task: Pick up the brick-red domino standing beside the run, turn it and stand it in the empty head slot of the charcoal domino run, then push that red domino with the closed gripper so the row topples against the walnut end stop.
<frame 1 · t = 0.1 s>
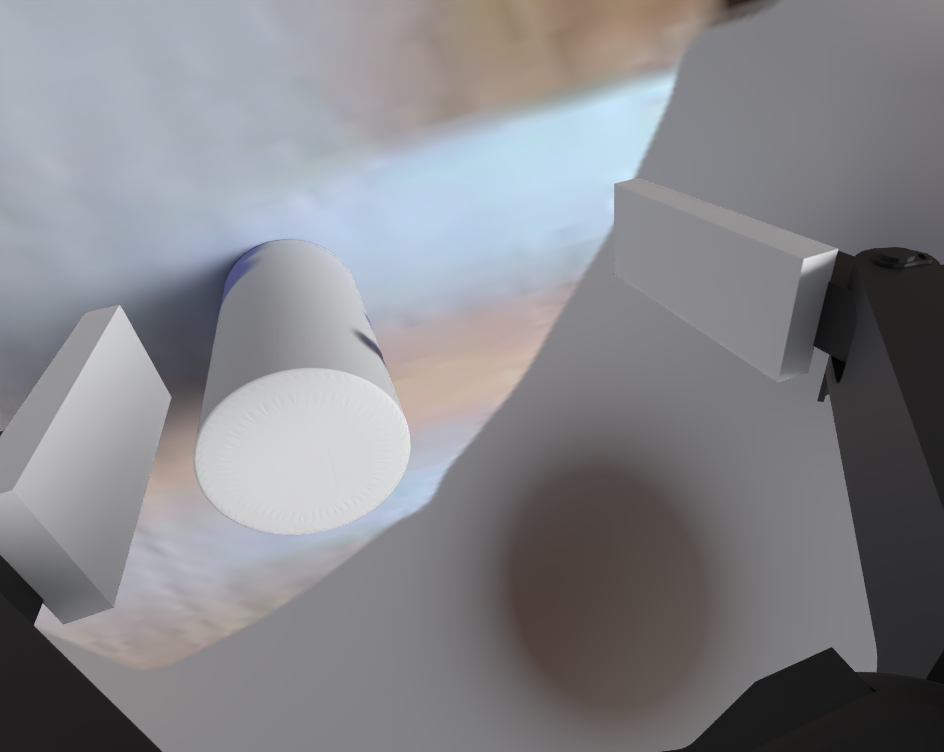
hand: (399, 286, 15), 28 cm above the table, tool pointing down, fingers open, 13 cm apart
container: (293, 301, 43), on the table
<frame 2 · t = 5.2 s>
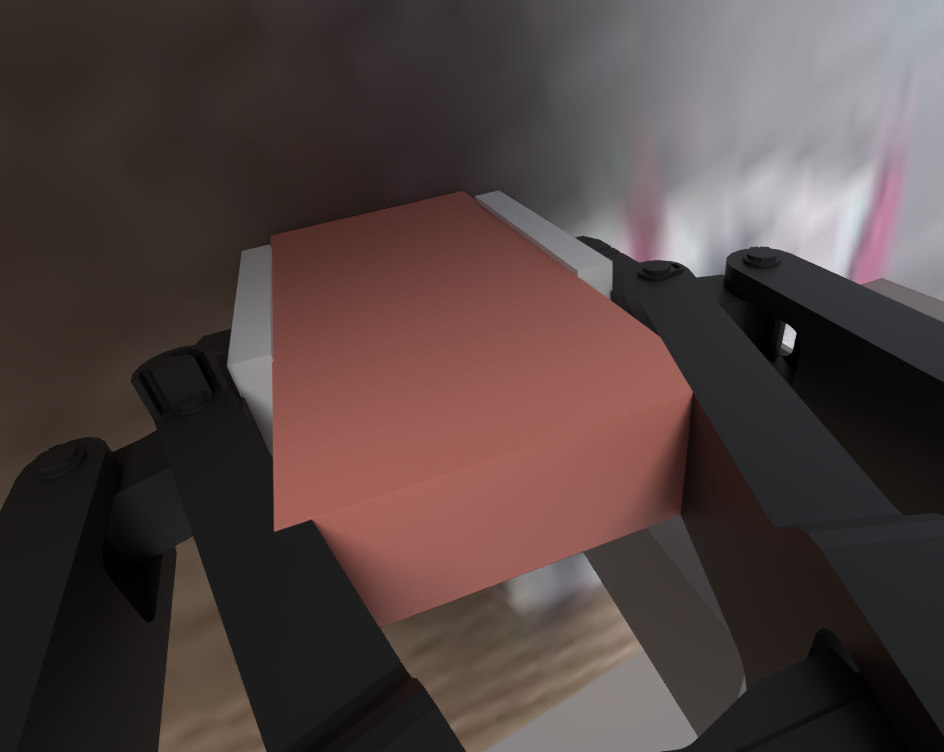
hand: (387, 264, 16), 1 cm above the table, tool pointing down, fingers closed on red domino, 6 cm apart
red domino: (379, 249, 17), on the table, touching gripper
domino 4: (845, 341, 27), on the table
domino 2: (565, 433, 24), on the table
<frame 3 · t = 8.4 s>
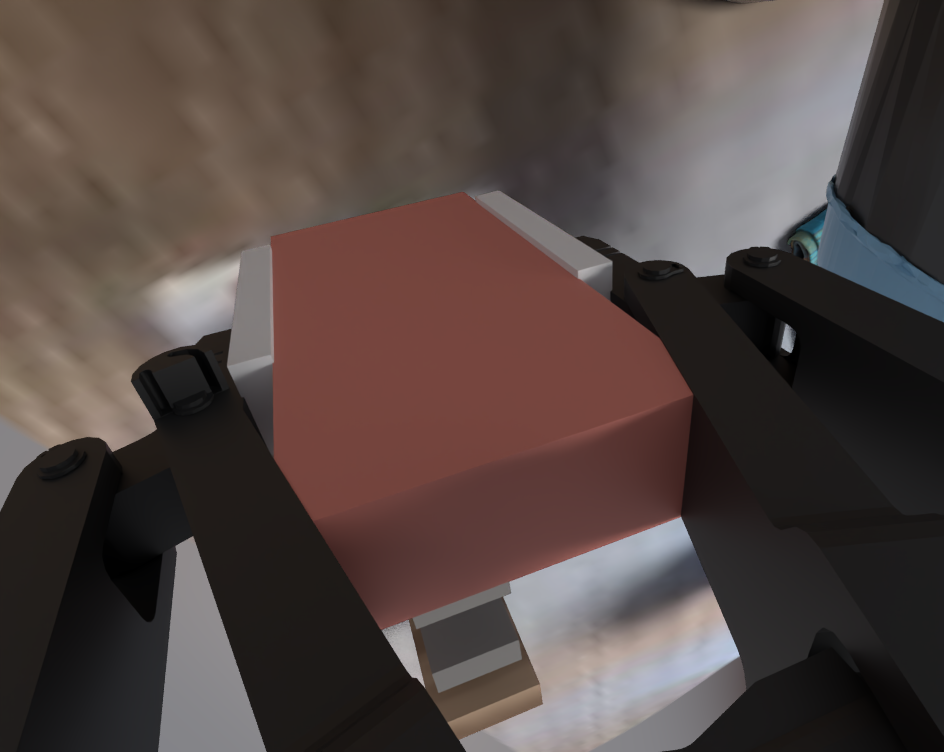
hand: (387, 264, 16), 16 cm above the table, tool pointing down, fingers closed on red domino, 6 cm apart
end stop: (447, 583, 50), on the table
red domino: (379, 250, 17), point 15 cm above the table, touching gripper
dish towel: (903, 240, 47), on the table
domino 5: (434, 534, 46), on the table
domino 4: (416, 469, 42), on the table
when the fingers open (2 cm above the table, at t = 11.8 s): red domino stays where it is, on the table.
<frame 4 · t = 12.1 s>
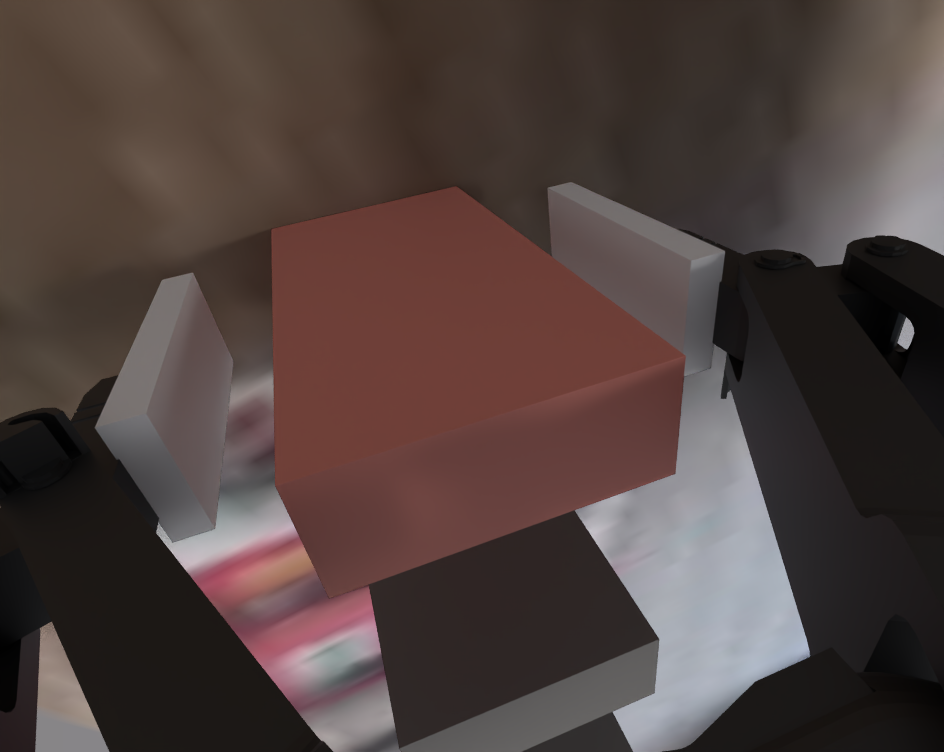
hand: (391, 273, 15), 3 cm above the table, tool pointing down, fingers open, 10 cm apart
red domino: (375, 243, 18), on the table
domino 3: (449, 541, 26), on the table
domino 2: (419, 419, 22), on the table
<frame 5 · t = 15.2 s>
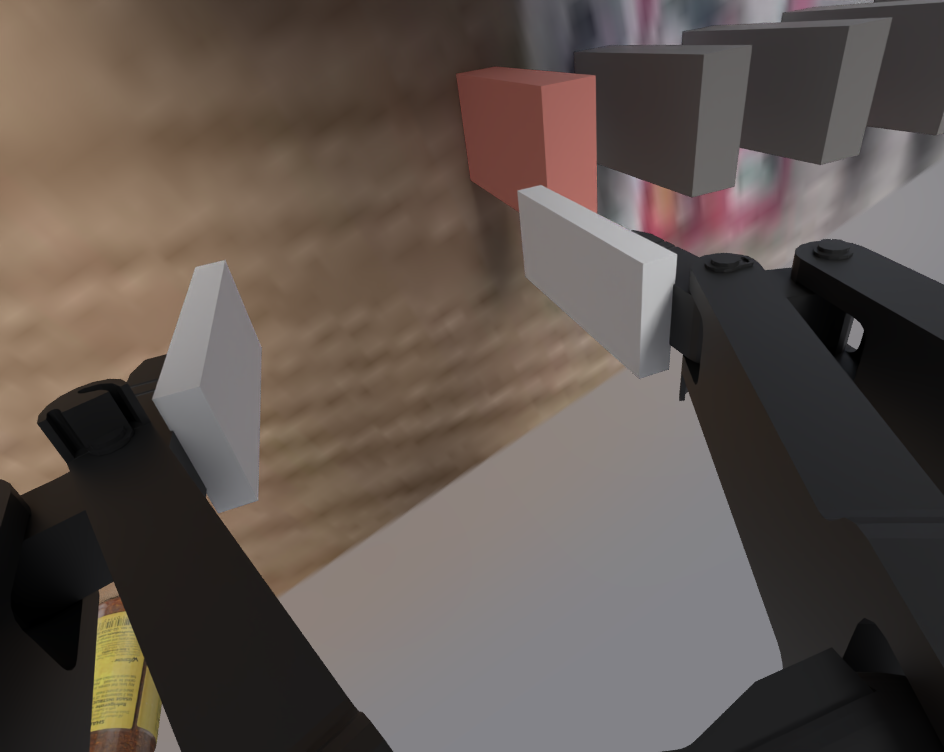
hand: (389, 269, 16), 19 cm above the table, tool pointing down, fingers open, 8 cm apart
red domino: (482, 125, 33), on the table
domino 3: (695, 81, 36), on the table
domino 4: (789, 62, 37), on the table
sauce bottle: (132, 615, 44), on the table
domino 2: (592, 103, 35), on the table
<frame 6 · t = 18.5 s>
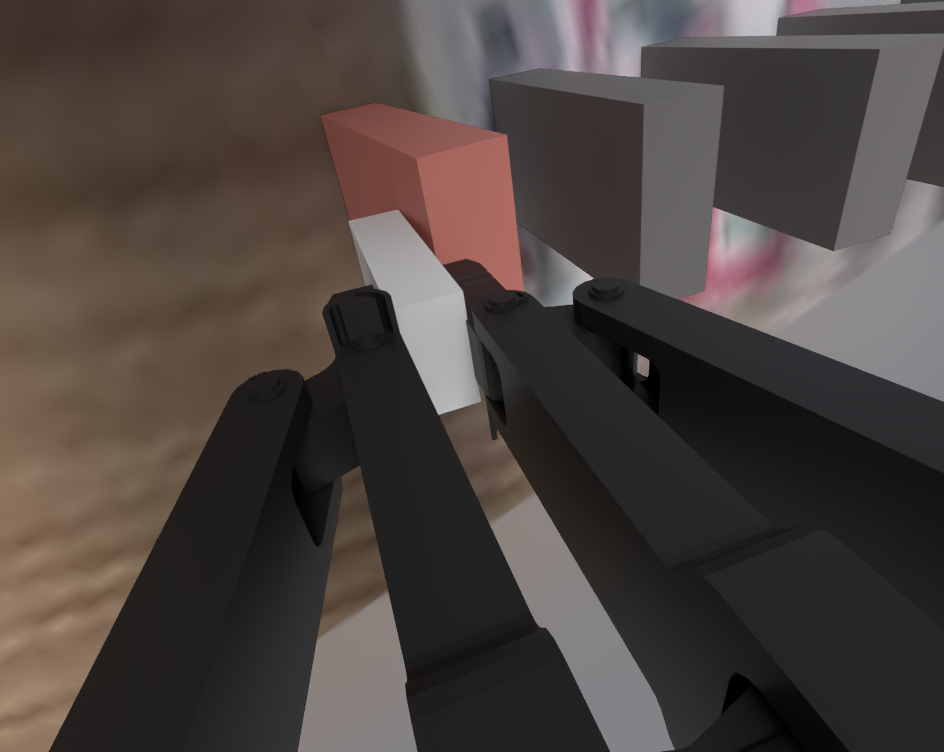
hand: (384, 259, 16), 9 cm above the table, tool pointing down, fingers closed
red domino: (367, 182, 24), on the table, tilted 6°
domino 3: (661, 112, 27), on the table
domino 4: (789, 82, 28), on the table
domino 2: (521, 145, 26), on the table
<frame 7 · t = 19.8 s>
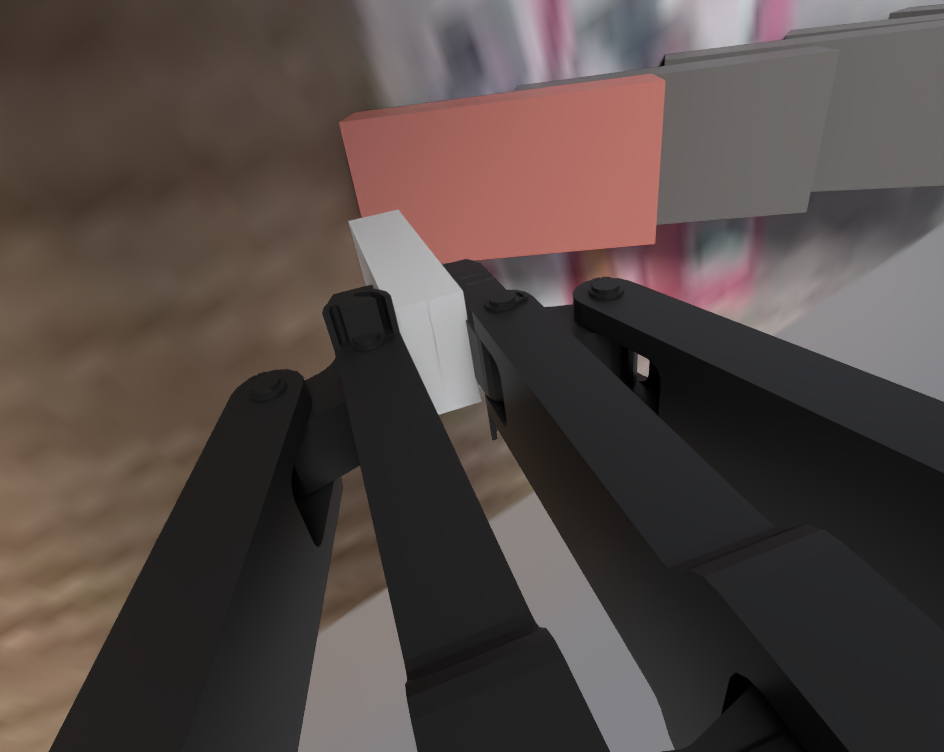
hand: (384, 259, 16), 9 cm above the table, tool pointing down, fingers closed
red domino: (364, 193, 23), point 1 cm above the table, tilted 68°, touching domino 2
domino 5: (884, 76, 29), on the table, tilted 19°, touching domino 4, end stop
domino 3: (661, 128, 26), point 1 cm above the table, tilted 56°, touching domino 2, domino 4
domino 4: (777, 102, 28), point 1 cm above the table, tilted 42°, touching domino 3, domino 5
domino 2: (521, 162, 25), point 1 cm above the table, tilted 64°, touching domino 3, red domino
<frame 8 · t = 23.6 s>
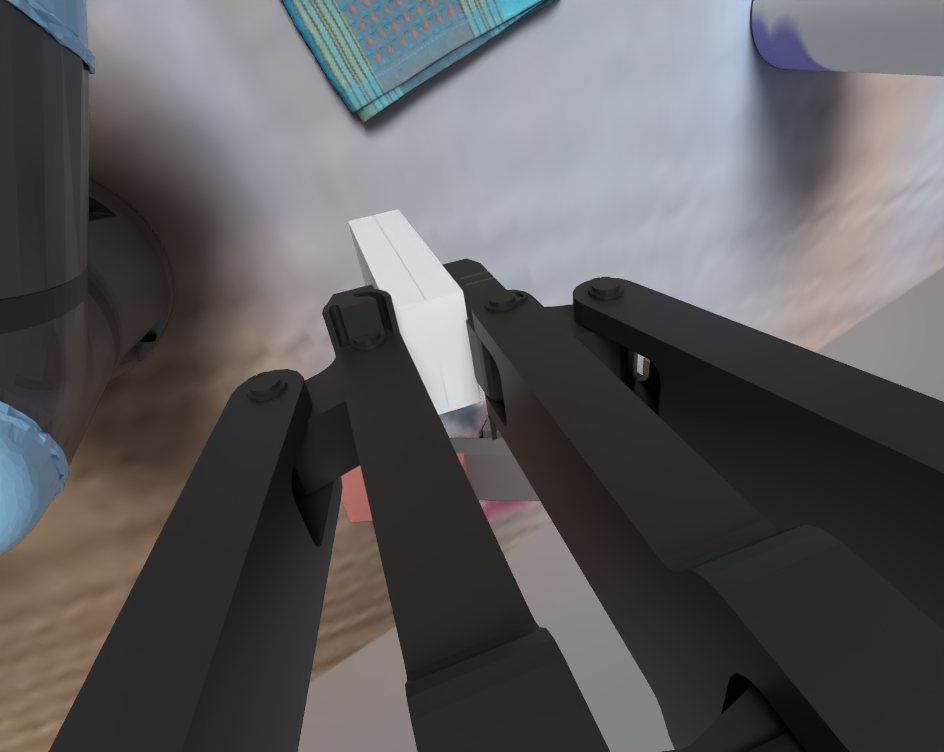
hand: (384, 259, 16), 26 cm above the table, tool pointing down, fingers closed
red domino: (345, 491, 53), point 1 cm above the table, tilted 68°
domino 2: (421, 469, 55), point 1 cm above the table, tilted 63°, touching domino 3
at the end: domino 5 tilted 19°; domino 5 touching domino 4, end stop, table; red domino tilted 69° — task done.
